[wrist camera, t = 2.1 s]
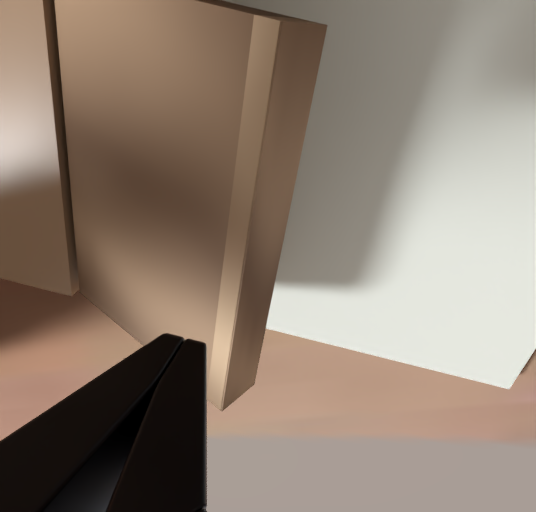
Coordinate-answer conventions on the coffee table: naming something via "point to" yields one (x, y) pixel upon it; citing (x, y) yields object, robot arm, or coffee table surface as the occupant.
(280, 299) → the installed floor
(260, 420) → the coffee table surface
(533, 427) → the coffee table surface
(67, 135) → the plank
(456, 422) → the coffee table surface
